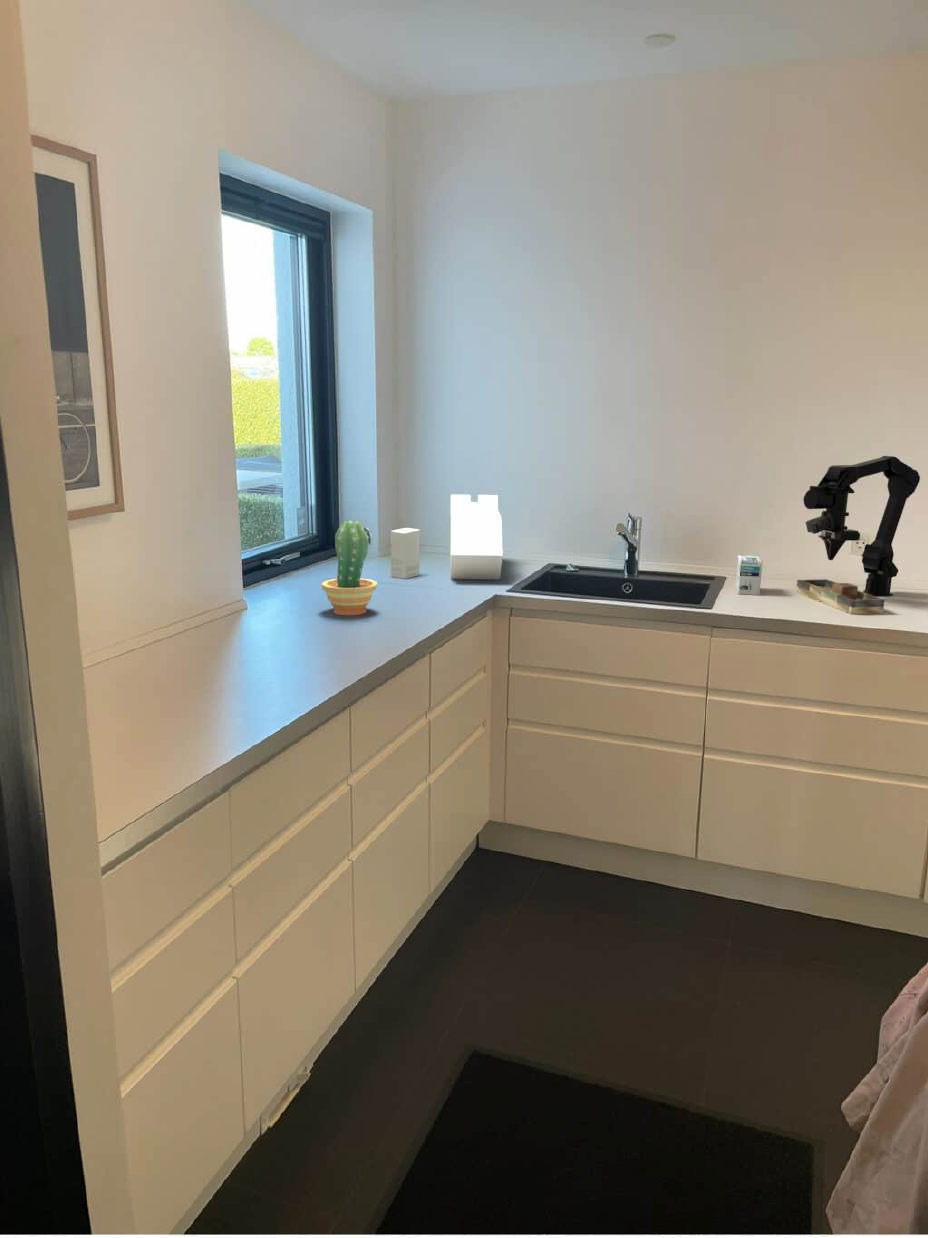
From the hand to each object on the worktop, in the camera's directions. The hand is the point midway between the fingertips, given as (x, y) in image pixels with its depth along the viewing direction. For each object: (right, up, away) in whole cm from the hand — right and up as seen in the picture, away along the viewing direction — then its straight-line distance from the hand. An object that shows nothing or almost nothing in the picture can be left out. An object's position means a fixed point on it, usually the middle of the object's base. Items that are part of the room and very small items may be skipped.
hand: (830, 559), depth 279 cm
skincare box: (-130, -4, +26) cm, 133 cm away
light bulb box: (-22, -10, +11) cm, 26 cm away
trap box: (+1, -13, -3) cm, 13 cm away
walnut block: (+1, -12, -6) cm, 14 cm away
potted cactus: (-143, -16, -24) cm, 146 cm away
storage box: (-108, -2, +36) cm, 113 cm away
